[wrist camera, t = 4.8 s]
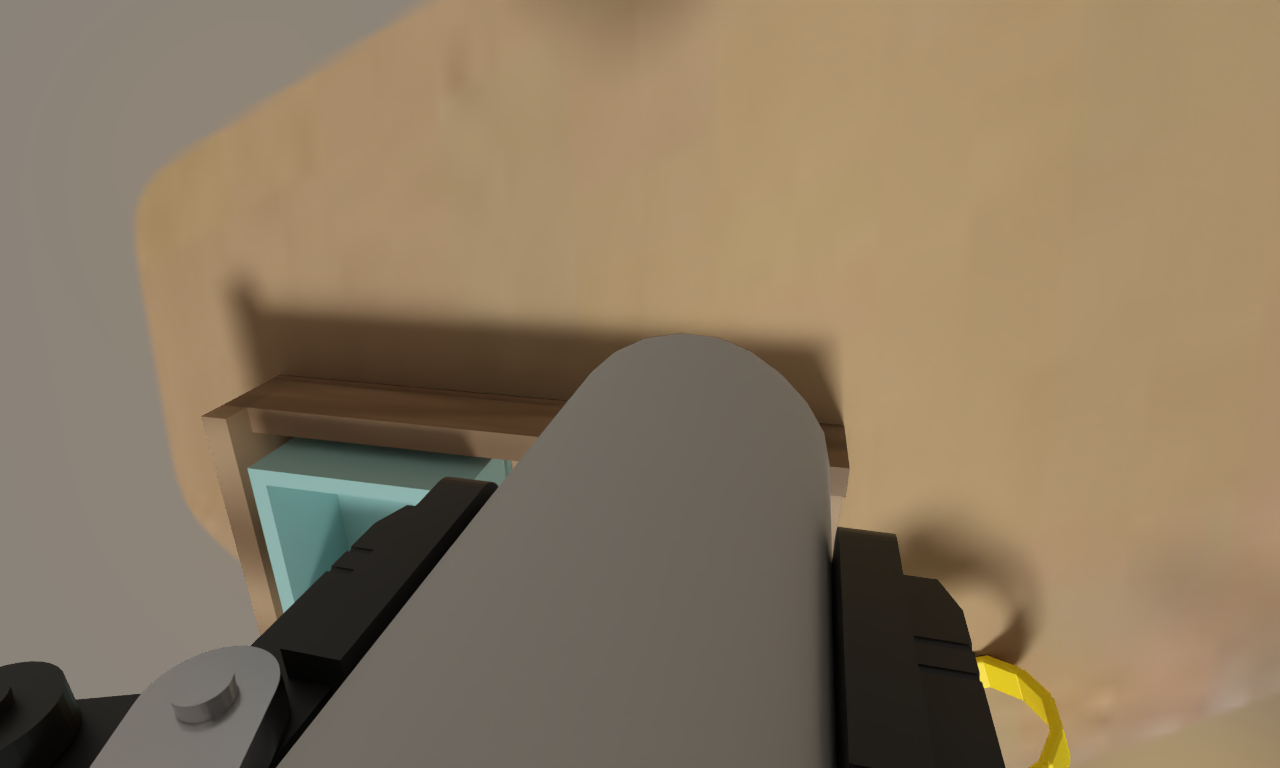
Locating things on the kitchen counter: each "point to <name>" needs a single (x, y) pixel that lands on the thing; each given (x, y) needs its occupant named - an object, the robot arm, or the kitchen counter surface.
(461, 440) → the bay
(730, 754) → the beverage can
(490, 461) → the box
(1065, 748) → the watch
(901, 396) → the kitchen counter surface
